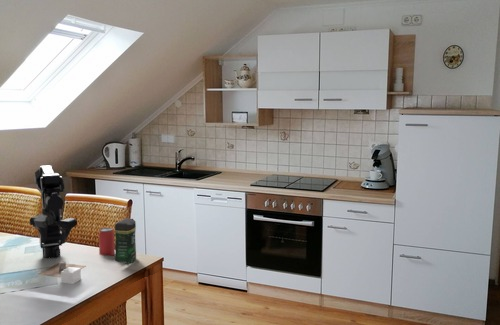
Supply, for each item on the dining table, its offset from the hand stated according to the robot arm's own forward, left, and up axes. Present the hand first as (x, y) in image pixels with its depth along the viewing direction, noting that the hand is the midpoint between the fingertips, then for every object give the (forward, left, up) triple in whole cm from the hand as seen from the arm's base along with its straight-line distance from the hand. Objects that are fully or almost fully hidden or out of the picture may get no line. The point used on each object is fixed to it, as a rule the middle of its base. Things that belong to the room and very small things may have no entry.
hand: (54, 242), depth 185 cm
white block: (+15, -10, -12) cm, 22 cm away
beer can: (+10, +22, -12) cm, 27 cm away
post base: (+5, -2, -12) cm, 13 cm away
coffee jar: (+22, +18, -12) cm, 31 cm away
